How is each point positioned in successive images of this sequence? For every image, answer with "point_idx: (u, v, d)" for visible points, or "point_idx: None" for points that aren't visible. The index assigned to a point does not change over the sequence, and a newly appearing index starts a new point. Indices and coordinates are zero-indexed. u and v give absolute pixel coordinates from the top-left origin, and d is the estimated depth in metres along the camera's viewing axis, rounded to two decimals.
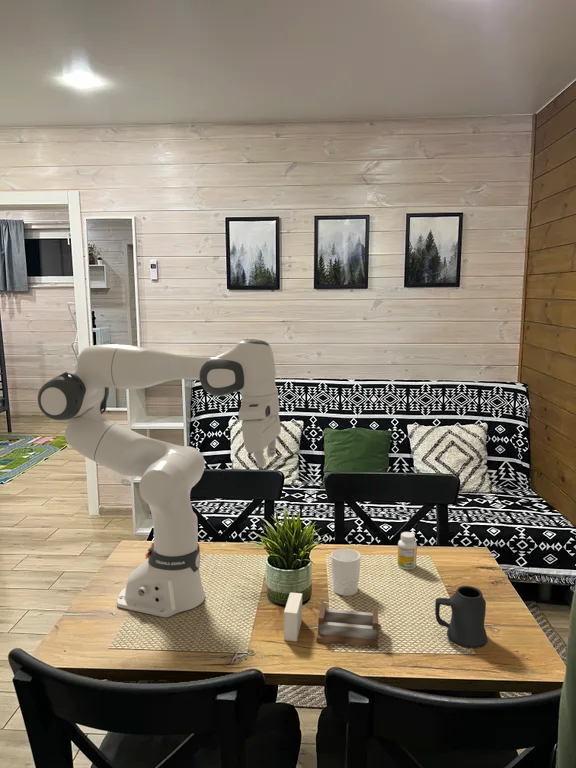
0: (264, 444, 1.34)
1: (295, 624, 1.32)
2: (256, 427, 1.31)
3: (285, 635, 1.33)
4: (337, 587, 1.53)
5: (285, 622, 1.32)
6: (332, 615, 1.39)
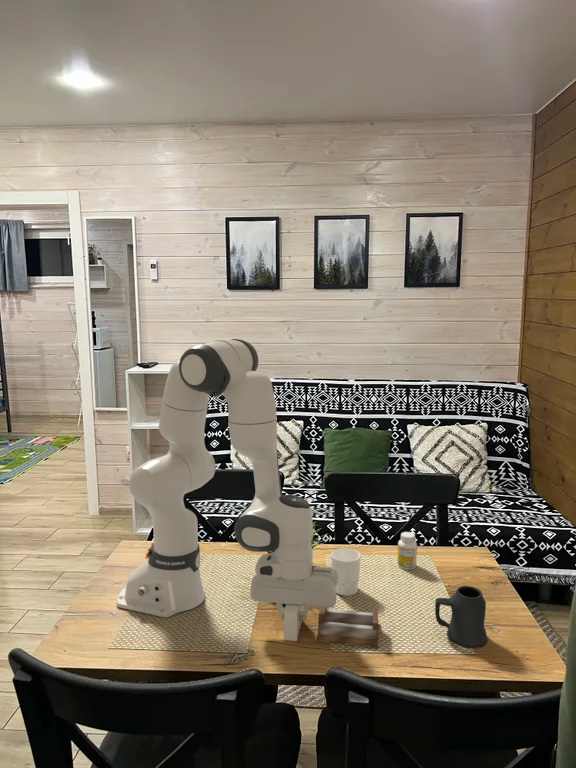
0: (264, 598, 1.35)
1: (295, 624, 1.32)
2: (253, 577, 1.36)
3: (285, 635, 1.33)
4: (337, 587, 1.53)
5: (285, 622, 1.32)
6: (332, 615, 1.39)
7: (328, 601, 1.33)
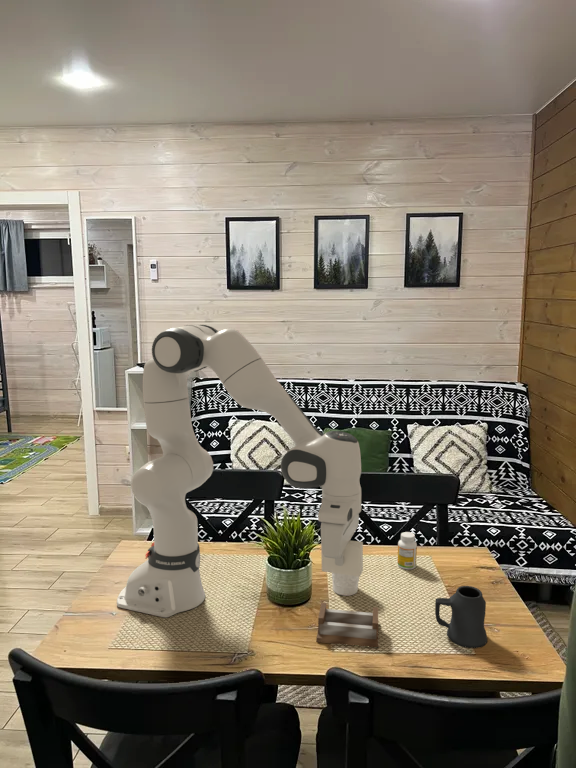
0: (342, 548, 1.26)
1: (362, 554, 1.32)
2: (336, 533, 1.22)
3: (360, 570, 1.31)
4: (337, 587, 1.53)
5: (360, 557, 1.30)
6: (332, 615, 1.39)
7: (357, 521, 1.39)
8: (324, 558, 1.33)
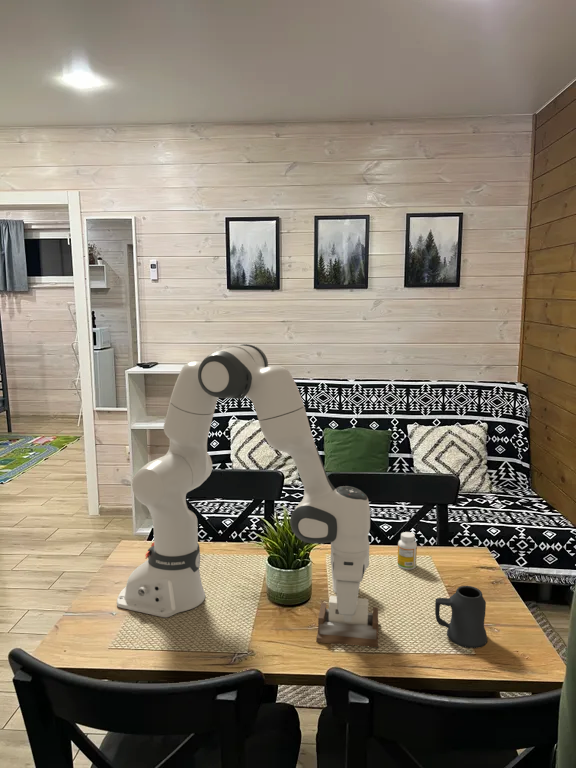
0: None
1: None
2: (352, 591, 1.24)
3: None
4: None
5: (367, 615, 1.34)
6: None
7: None
8: (331, 617, 1.35)
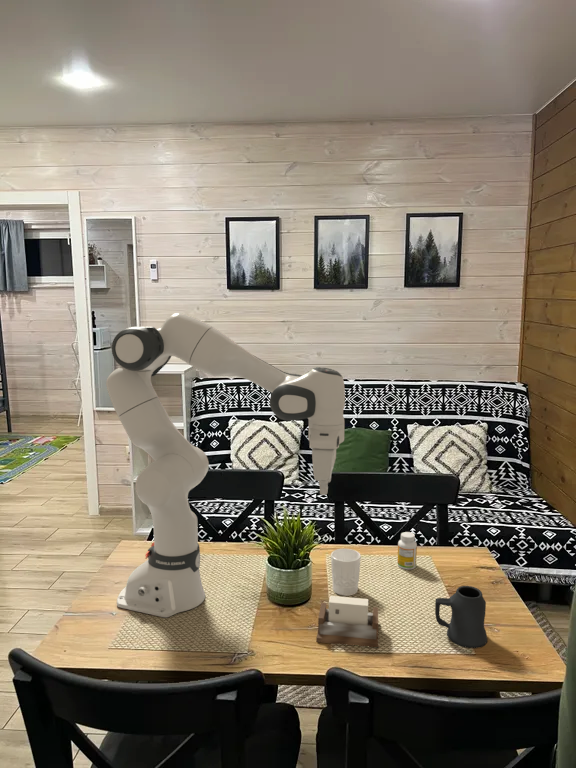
0: None
1: None
2: (327, 457, 1.33)
3: None
4: (337, 587, 1.53)
5: (367, 615, 1.34)
6: None
7: None
8: (331, 617, 1.35)
